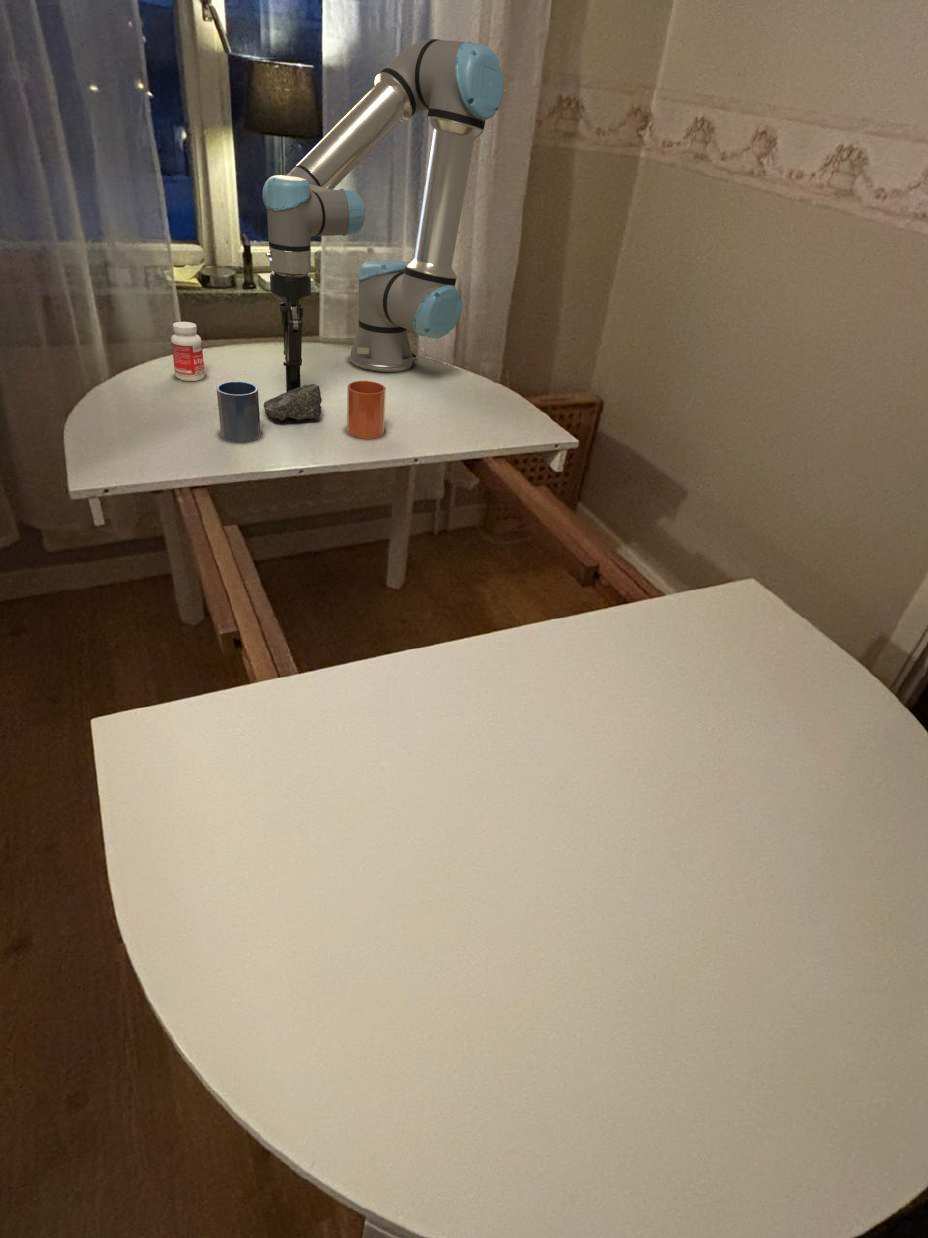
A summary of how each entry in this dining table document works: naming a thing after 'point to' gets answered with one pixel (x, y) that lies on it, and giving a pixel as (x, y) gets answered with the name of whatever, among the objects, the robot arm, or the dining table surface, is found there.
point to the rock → (296, 403)
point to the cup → (238, 411)
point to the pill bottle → (187, 352)
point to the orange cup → (365, 409)
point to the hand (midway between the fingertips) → (293, 395)
